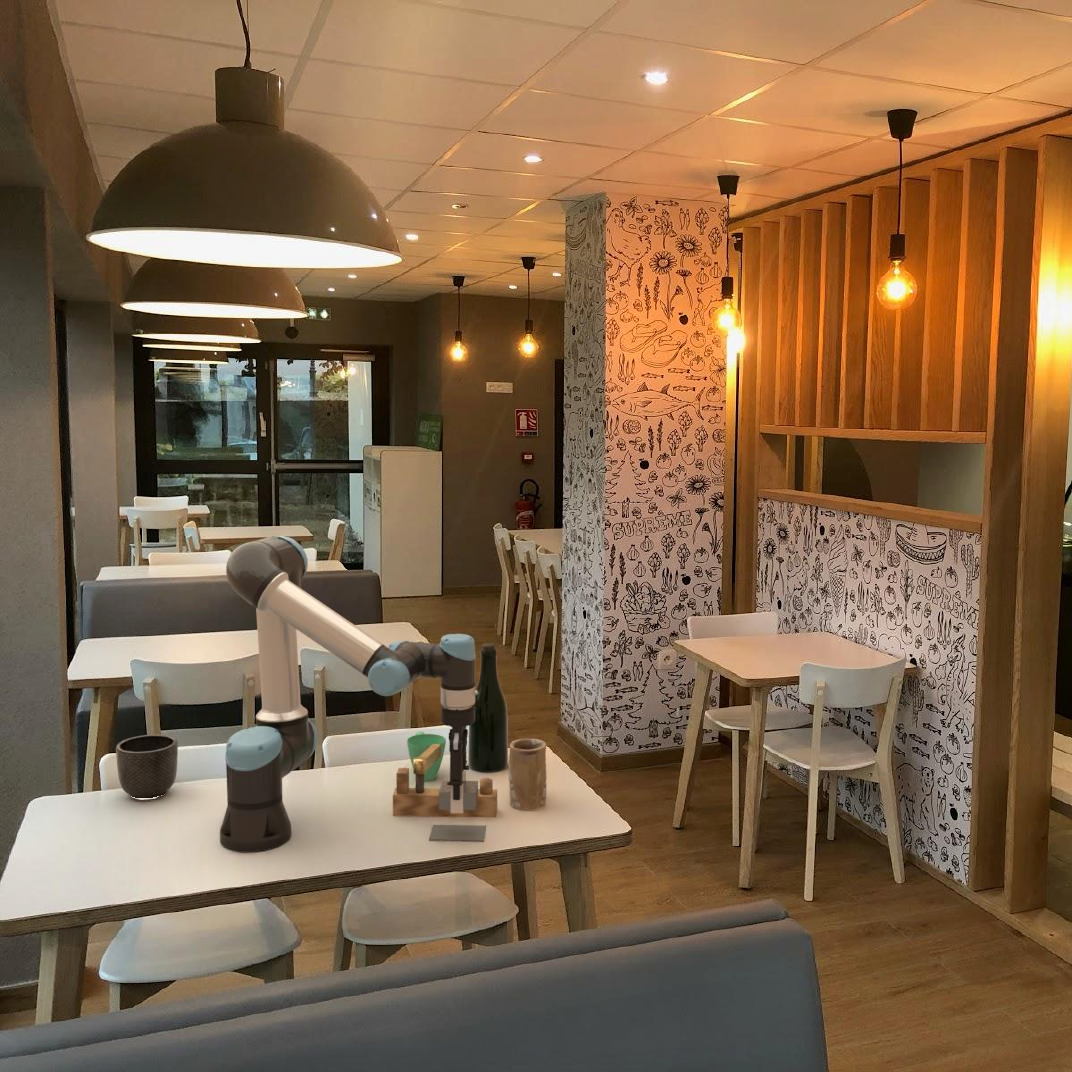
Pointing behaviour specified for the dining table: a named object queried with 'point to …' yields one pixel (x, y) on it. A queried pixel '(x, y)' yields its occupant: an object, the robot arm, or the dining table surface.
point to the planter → (147, 765)
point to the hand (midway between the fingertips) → (458, 805)
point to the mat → (458, 833)
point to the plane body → (437, 799)
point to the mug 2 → (527, 774)
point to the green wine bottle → (489, 718)
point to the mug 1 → (420, 745)
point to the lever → (426, 759)
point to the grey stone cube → (468, 795)
